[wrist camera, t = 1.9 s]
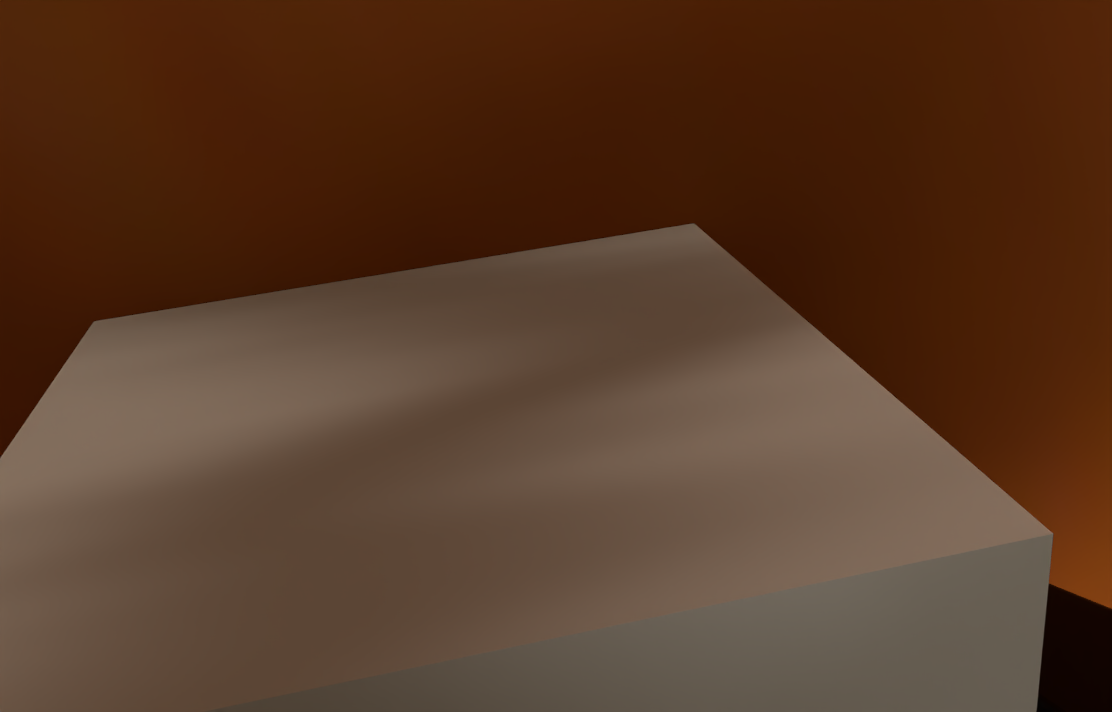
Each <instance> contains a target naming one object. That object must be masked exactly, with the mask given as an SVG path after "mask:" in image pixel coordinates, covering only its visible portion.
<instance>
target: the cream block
mask: <svg viewBox="0 0 1112 712" xmlns="http://www.w3.org/2000/svg"><path fill="white" fill-rule="evenodd" d="M1052 542H1053V533H1052V532H1051V531H1050V530H1048V529H1047V528H1046V527H1045V526H1044V525H1043V524H1041V523H1040V522H1039V521H1038V520H1037V519H1036V518H1034V517H1033V516H1032V515H1031V514H1030V513H1029V512H1028V511H1026V510H1025V509H1024V508H1023V507H1022V506H1021V505H1019V504H1018V503H1017V502H1016V501H1015V500H1014V499H1012V498H1011V497H1010V496H1009V495H1008V494H1007V493H1006V492H1004V491H1003V490H1002V489H1001V488H1000V487H999V486H997V485H996V484H995V483H994V482H993V481H992V480H991V479H989V478H988V477H987V476H986V475H985V474H984V473H982V472H981V471H980V470H979V469H978V468H977V467H975V466H974V465H973V464H972V463H971V462H970V461H969V460H967V459H966V458H965V457H964V456H963V455H962V454H960V453H959V452H958V451H957V450H956V449H955V448H953V447H952V446H951V445H950V444H949V443H948V442H947V441H945V440H944V439H943V438H942V437H941V436H940V435H938V434H937V433H936V432H935V431H934V430H933V429H931V428H930V427H929V426H928V425H927V424H926V423H925V422H923V421H922V420H921V419H920V418H919V417H918V416H916V415H915V414H914V413H913V412H912V411H911V410H909V409H908V408H907V407H906V406H905V405H904V404H903V403H901V402H900V401H899V400H898V399H897V398H896V397H894V396H893V395H892V394H891V393H890V392H889V391H888V390H886V389H885V388H884V387H883V386H882V385H881V384H879V383H878V382H877V381H876V380H875V379H874V378H872V377H871V376H870V375H869V374H868V373H867V372H866V371H864V370H863V369H862V368H861V367H860V366H859V365H857V364H856V363H855V362H854V361H853V360H852V359H850V358H849V357H848V356H847V355H846V354H845V353H844V352H842V351H841V350H840V349H839V348H838V347H837V346H835V345H834V344H833V343H832V342H831V341H830V340H828V339H827V338H826V337H825V336H824V335H823V334H822V333H820V332H819V331H818V330H817V329H816V328H815V327H813V326H812V325H811V324H810V323H809V322H808V321H807V320H805V319H804V318H803V317H802V316H801V315H800V314H798V313H797V312H796V311H795V310H794V309H793V308H791V307H790V306H789V305H788V304H787V303H786V302H785V301H783V300H782V299H781V298H780V297H779V296H778V295H776V294H775V293H774V292H773V291H772V290H771V289H769V288H768V287H767V286H766V285H765V284H764V283H763V282H761V281H760V280H759V279H758V278H757V277H756V276H754V275H753V274H752V273H751V272H750V271H749V270H747V269H746V268H745V267H744V266H743V265H742V264H741V263H739V262H738V261H737V260H736V259H735V258H734V257H732V256H731V255H730V254H729V253H728V252H727V251H726V250H724V249H723V248H722V247H721V246H720V245H719V244H717V243H716V242H715V241H714V240H713V239H712V238H710V237H709V236H708V235H707V234H706V233H705V232H704V231H702V230H701V229H700V228H699V227H698V226H697V225H695V224H694V223H693V224H687V225H680V226H674V227H668V228H662V229H656V230H650V231H644V232H638V233H632V234H625V235H619V236H613V237H607V238H601V239H595V240H589V241H583V242H576V243H570V244H564V245H558V246H552V247H546V248H540V249H534V250H528V251H521V252H515V253H509V254H503V255H497V256H491V257H485V258H479V259H472V260H466V261H460V262H454V263H448V264H442V265H436V266H430V267H424V268H417V269H411V270H405V271H399V272H393V273H387V274H381V275H375V276H368V277H362V278H356V279H350V280H344V281H338V282H332V283H326V284H320V285H313V286H307V287H301V288H295V289H289V290H283V291H277V292H271V293H264V294H258V295H252V296H246V297H240V298H234V299H228V300H222V301H216V302H209V303H203V304H197V305H191V306H185V307H179V308H173V309H167V310H160V311H154V312H148V313H142V314H136V315H130V316H124V317H118V318H112V319H105V320H99V321H94V322H93V323H92V325H91V326H90V328H89V329H88V331H87V332H86V334H85V335H84V336H83V338H82V339H81V341H80V342H79V344H78V345H77V347H76V348H75V350H74V351H73V353H72V354H71V355H70V357H69V358H68V360H67V361H66V363H65V364H64V366H63V367H62V369H61V370H60V372H59V373H58V374H57V376H56V377H55V379H54V380H53V382H52V383H51V385H50V386H49V388H48V389H47V391H46V392H45V393H44V395H43V396H42V398H41V399H40V401H39V402H38V404H37V405H36V407H35V408H34V410H33V411H32V412H31V414H30V415H29V417H28V418H27V420H26V421H25V423H24V424H23V426H22V427H21V429H20V430H19V431H18V433H17V434H16V436H15V437H14V439H13V440H12V442H11V443H10V445H9V446H8V448H7V449H6V451H5V452H4V453H3V455H2V456H1V458H0V712H1036V711H1037V700H1038V690H1039V679H1040V668H1041V658H1042V647H1043V637H1044V626H1045V616H1046V605H1047V595H1048V584H1049V574H1050V563H1051V552H1052Z"/></svg>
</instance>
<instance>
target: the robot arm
mask: <svg viewBox="0 0 1112 712" xmlns="http://www.w3.org/2000/svg"><path fill="white" fill-rule="evenodd" d="M1036 712H1112V609H1111V608H1108V607H1106V606H1103V605H1101V604H1098V603H1096V602H1093V601H1091V600H1088V599H1086V598H1083V597H1081V596H1079V595H1076V594H1074V593H1071V592H1069V591H1066V590H1064V589H1061V588H1059V587H1056V586H1054V585H1051V584H1048V595H1047V605H1046V616H1045V626H1044V637H1043V647H1042V658H1041V668H1040V679H1039V690H1038V700H1037V711H1036Z"/></svg>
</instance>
